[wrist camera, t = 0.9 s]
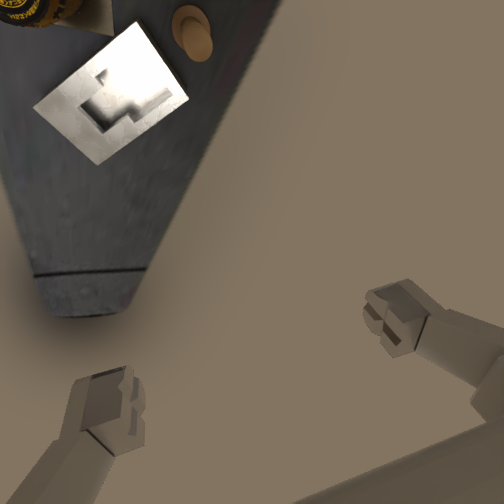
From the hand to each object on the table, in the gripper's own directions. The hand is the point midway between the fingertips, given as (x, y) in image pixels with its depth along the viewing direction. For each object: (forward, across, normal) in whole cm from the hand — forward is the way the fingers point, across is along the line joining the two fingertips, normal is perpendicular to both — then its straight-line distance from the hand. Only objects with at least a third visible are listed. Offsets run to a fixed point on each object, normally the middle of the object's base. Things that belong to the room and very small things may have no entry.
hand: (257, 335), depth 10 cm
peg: (+34, -4, -10) cm, 36 cm away
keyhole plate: (+36, +6, -5) cm, 37 cm away
